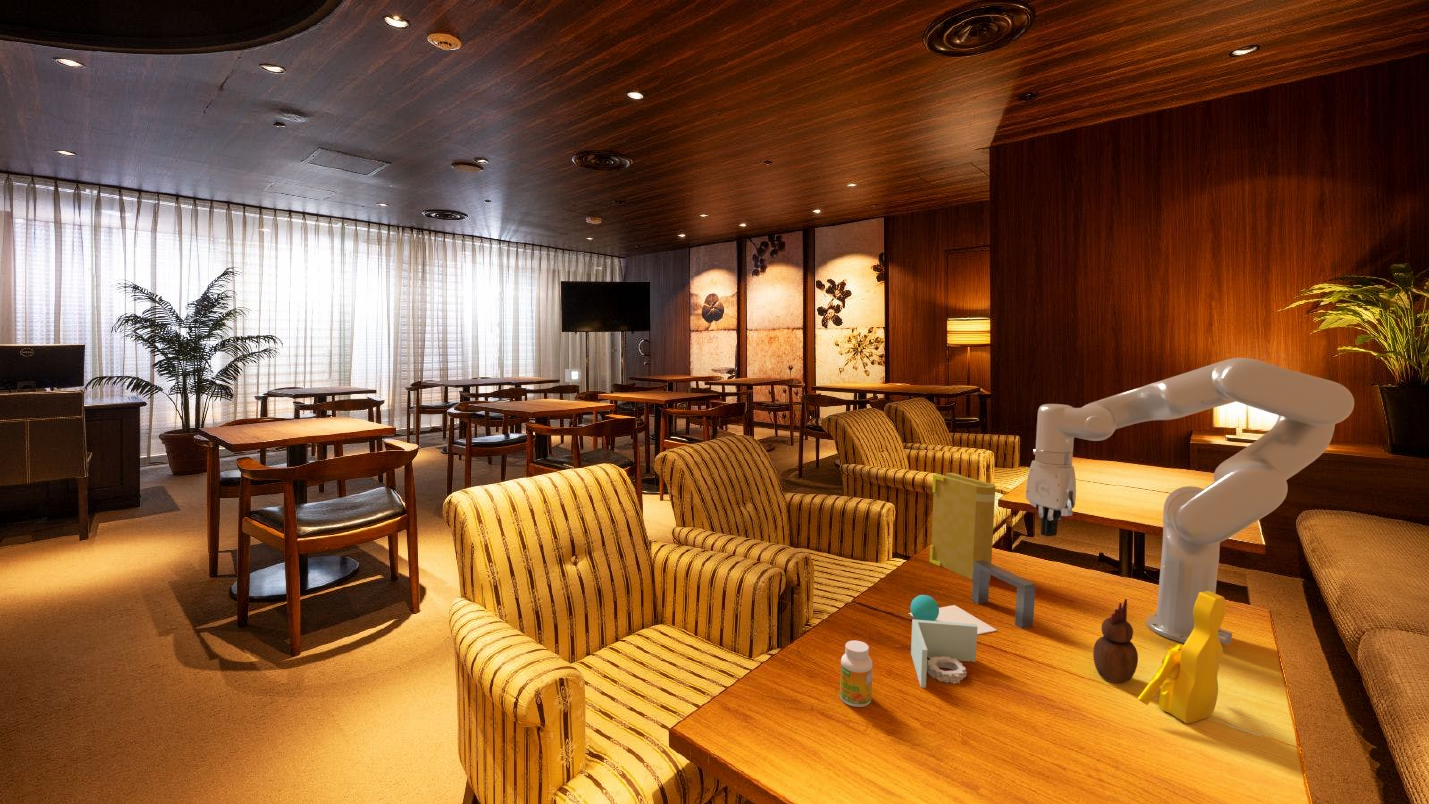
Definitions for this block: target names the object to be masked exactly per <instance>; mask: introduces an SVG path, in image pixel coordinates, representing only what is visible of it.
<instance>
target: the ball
mask: <svg viewBox="0 0 1429 804" xmlns="http://www.w3.org/2000/svg"><path fill="white" fill-rule="evenodd" d="M939 608H940V607H939V603H938V602H937V601H936V600H935V598H933V596H930V595H926V594H920V595H917V596H915V597H914V598H913V599H912V601H911V603H910V613H912V615H913V619H915V620H927V621H935V620H936V619H937V617H938V615H939Z"/></svg>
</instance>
